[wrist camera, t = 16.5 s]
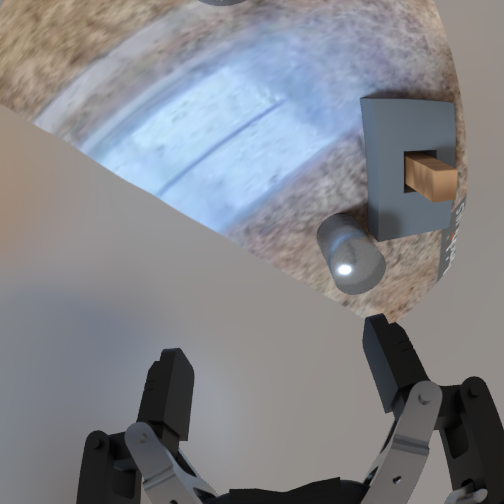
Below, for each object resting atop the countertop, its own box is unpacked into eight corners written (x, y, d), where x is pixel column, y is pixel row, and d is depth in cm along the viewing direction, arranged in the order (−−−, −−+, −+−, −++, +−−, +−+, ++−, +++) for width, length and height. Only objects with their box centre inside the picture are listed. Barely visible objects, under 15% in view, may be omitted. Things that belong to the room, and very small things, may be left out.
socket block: (359, 98, 29) (372, 99, 26) (438, 100, 28) (454, 103, 25) (367, 229, 40) (378, 241, 36) (436, 216, 39) (448, 227, 35)
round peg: (314, 217, 39) (334, 254, 30) (358, 210, 38) (387, 243, 30) (318, 257, 42) (335, 299, 34) (359, 249, 42) (383, 288, 33)
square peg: (395, 151, 33) (435, 171, 25) (416, 150, 33) (457, 169, 24) (395, 177, 35) (433, 202, 27) (416, 175, 35) (455, 199, 26)
